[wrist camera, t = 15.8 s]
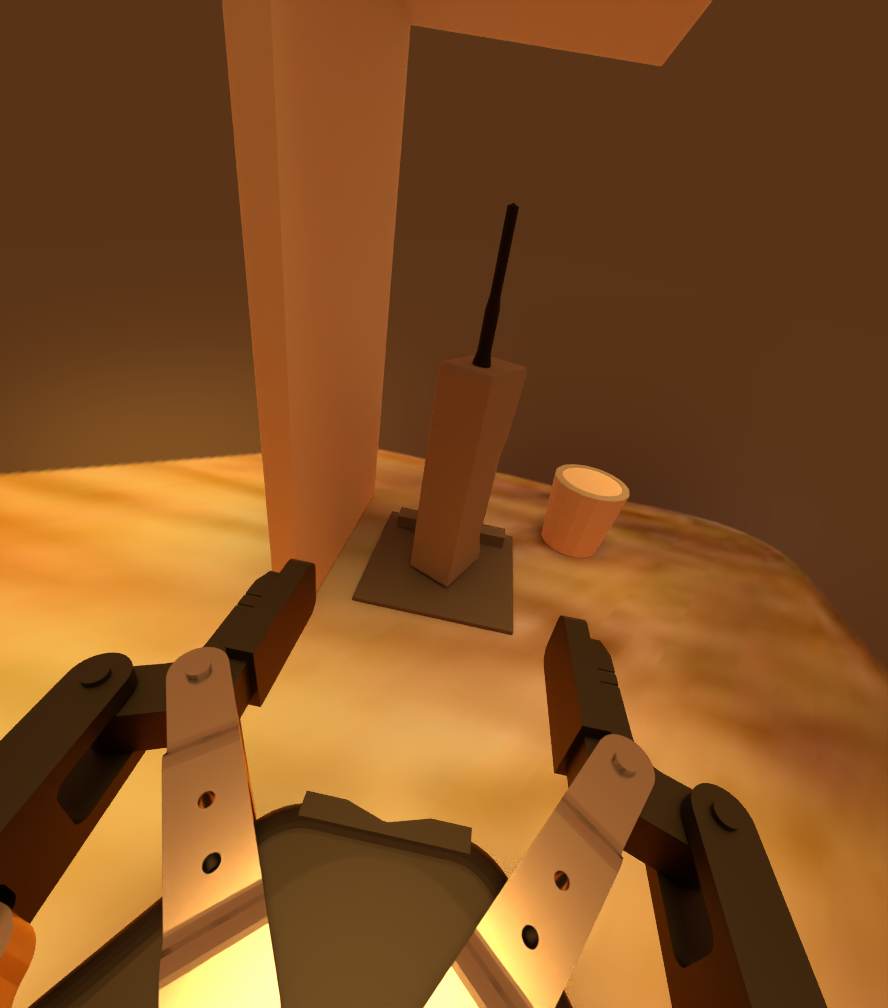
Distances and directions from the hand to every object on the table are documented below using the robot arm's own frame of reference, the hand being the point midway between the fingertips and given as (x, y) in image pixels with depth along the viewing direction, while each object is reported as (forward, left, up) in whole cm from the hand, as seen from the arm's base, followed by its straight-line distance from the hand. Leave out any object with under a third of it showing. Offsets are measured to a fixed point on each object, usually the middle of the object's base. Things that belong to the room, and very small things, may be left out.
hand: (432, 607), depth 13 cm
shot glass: (+12, +26, -13) cm, 31 cm away
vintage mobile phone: (0, +17, -13) cm, 22 cm away
